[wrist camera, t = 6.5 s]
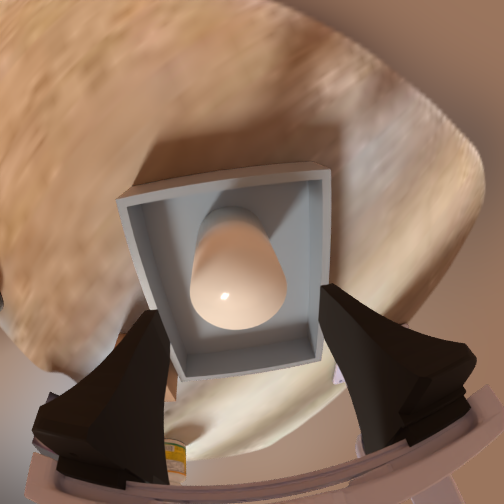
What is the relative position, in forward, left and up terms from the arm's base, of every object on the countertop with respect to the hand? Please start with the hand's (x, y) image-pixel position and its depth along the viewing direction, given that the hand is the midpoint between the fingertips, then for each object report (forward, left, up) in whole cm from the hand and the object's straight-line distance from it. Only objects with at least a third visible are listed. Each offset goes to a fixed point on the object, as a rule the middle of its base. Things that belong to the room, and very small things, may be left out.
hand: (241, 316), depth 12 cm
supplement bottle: (+16, +36, -10) cm, 41 cm away
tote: (0, +4, -10) cm, 11 cm away
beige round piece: (0, 0, -9) cm, 9 cm away
